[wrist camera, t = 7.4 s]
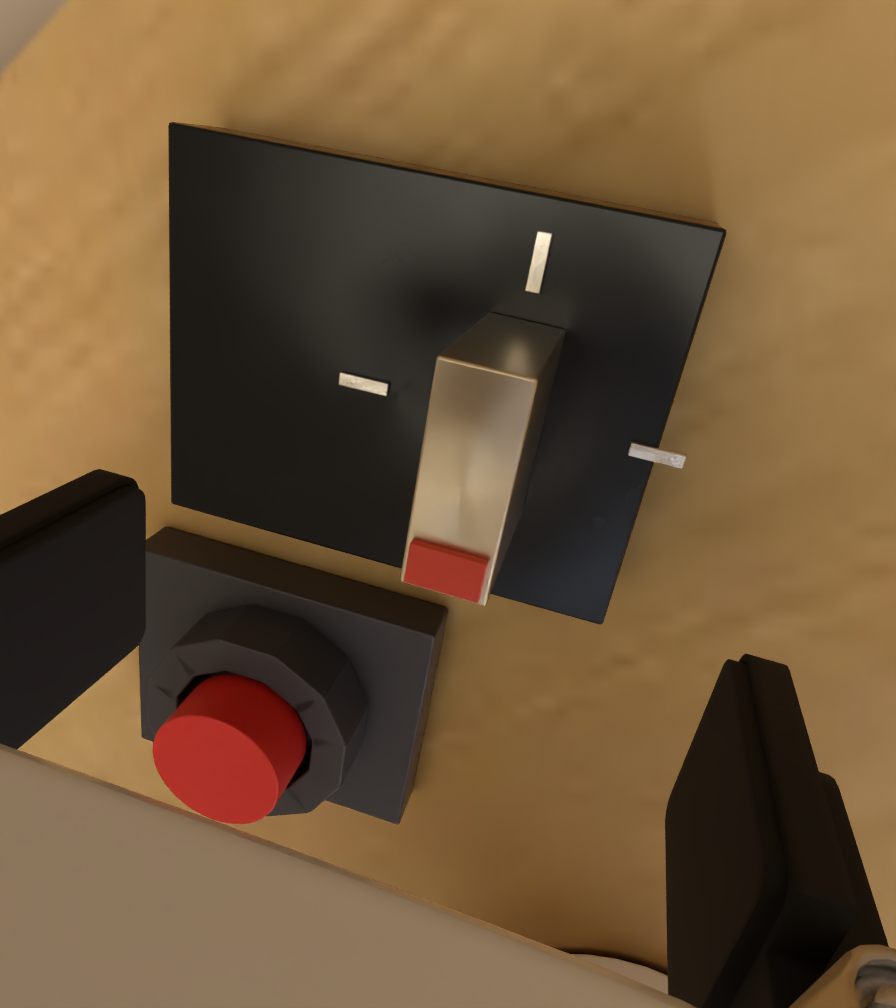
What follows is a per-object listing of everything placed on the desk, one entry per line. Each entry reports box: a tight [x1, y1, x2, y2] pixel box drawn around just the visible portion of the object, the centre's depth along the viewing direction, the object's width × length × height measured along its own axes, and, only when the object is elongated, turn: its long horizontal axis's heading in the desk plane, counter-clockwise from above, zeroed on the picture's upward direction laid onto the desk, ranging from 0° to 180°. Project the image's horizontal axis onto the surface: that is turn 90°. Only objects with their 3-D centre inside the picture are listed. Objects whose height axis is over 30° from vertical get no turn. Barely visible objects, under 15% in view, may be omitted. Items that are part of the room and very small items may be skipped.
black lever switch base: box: [169, 122, 726, 624], centre depth 21 cm, size 15×11×3 cm
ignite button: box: [153, 674, 306, 824], centre depth 24 cm, size 4×4×2 cm
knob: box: [400, 313, 566, 606], centre depth 17 cm, size 5×2×5 cm, turn 170°
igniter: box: [139, 527, 448, 824], centre depth 26 cm, size 11×9×4 cm
